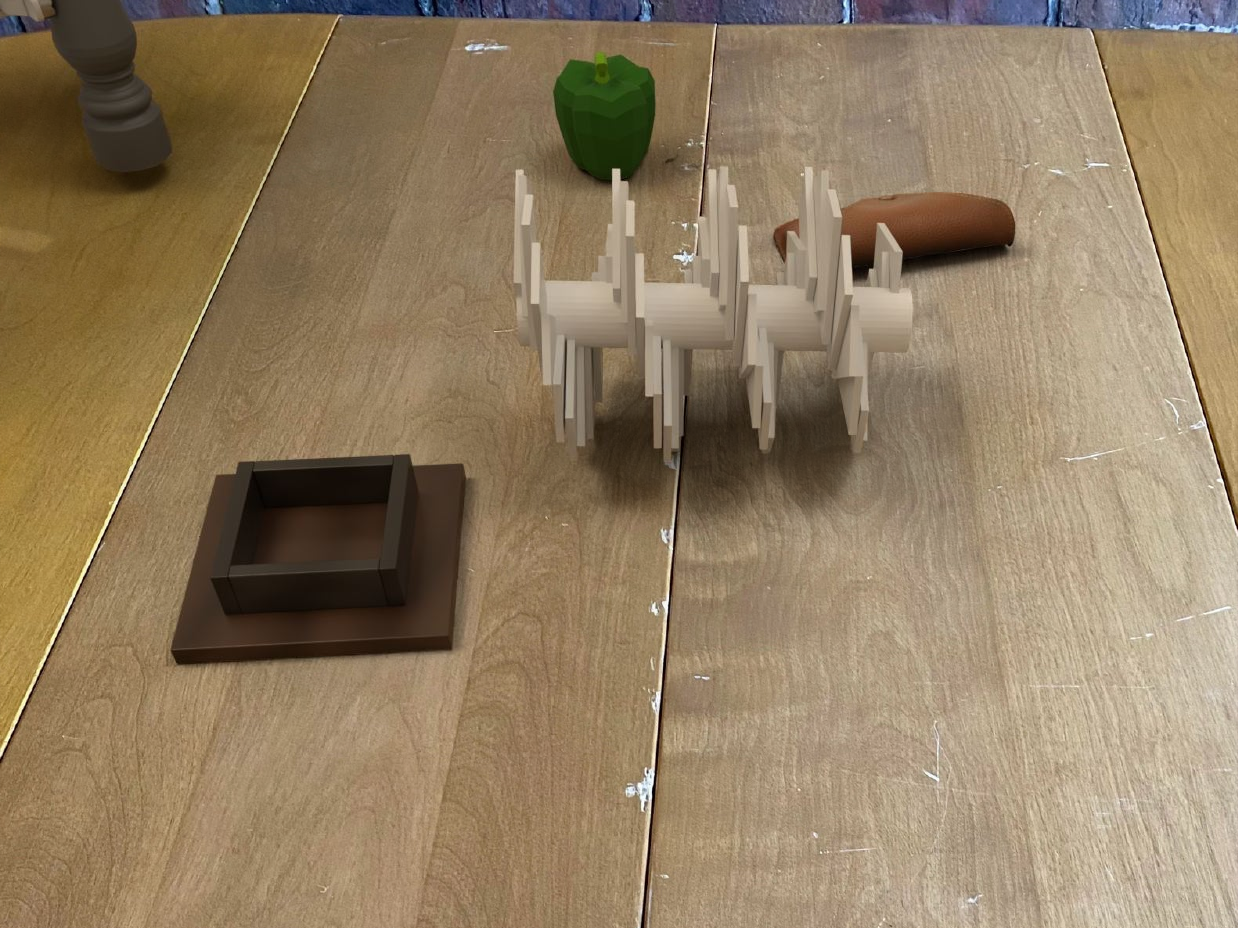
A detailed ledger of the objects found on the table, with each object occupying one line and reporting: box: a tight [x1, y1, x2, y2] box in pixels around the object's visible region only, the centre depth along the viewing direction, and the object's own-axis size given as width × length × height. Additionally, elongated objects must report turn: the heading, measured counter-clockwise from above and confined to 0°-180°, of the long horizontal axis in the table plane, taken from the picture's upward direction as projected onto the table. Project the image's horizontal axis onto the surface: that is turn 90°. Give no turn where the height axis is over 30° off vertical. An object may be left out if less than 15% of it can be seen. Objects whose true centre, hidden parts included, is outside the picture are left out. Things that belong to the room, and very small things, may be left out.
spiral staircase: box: [513, 165, 914, 463], centre depth 89 cm, size 18×18×25 cm
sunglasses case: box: [773, 191, 1016, 270], centre depth 110 cm, size 18×7×7 cm
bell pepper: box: [552, 51, 657, 181], centre depth 115 cm, size 8×8×10 cm
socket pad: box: [169, 453, 467, 665], centre depth 86 cm, size 16×16×4 cm
